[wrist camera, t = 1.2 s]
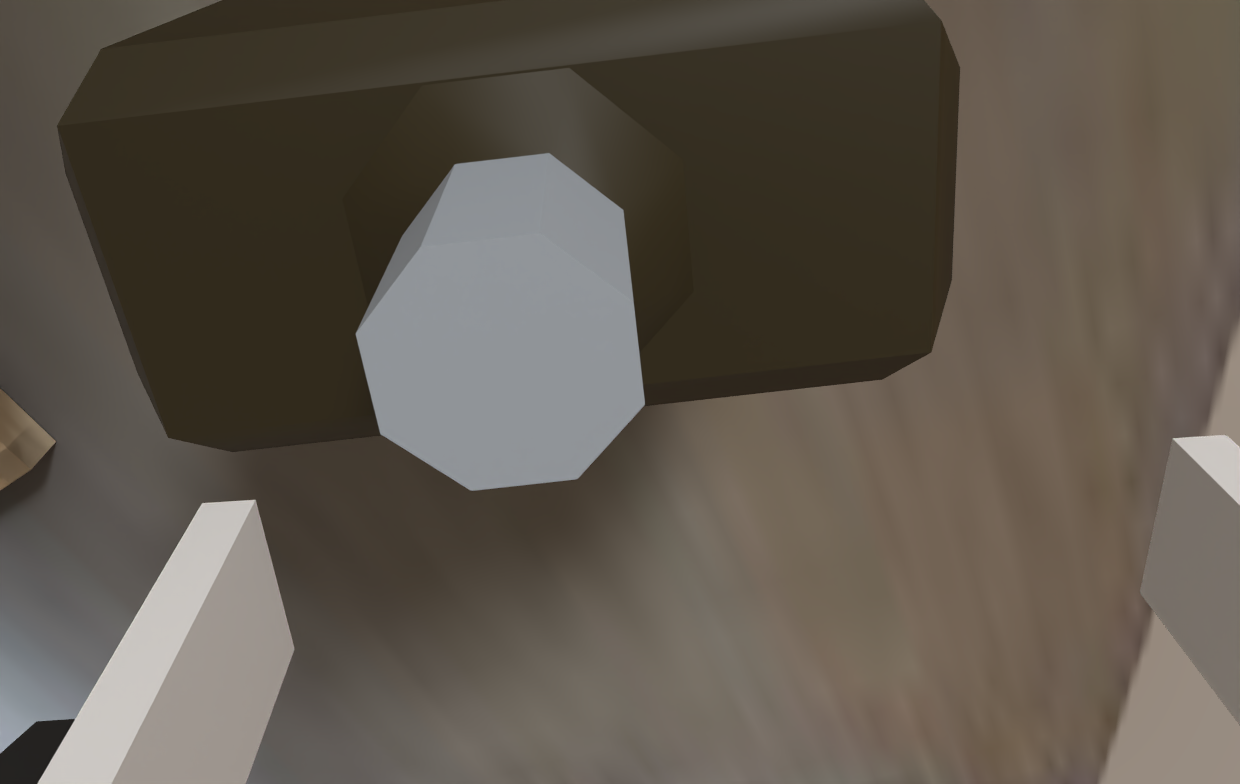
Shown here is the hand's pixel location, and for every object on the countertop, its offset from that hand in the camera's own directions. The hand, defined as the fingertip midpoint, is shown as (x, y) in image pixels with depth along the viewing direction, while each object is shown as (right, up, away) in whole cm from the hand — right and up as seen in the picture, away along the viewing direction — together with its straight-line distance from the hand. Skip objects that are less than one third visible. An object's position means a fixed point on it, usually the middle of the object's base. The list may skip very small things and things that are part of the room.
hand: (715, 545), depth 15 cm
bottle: (-4, +14, +21) cm, 26 cm away
